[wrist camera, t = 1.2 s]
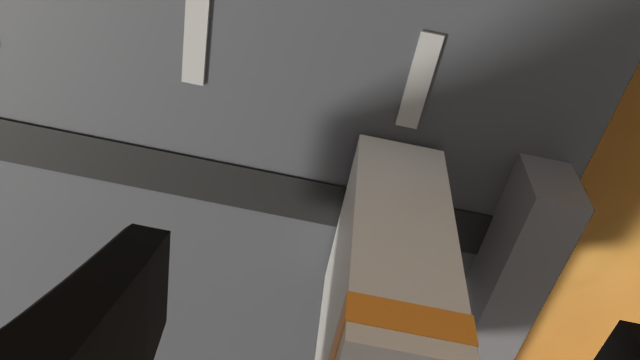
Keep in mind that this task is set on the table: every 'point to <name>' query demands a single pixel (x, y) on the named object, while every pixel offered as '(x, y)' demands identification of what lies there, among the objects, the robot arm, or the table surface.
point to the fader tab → (396, 262)
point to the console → (297, 146)
